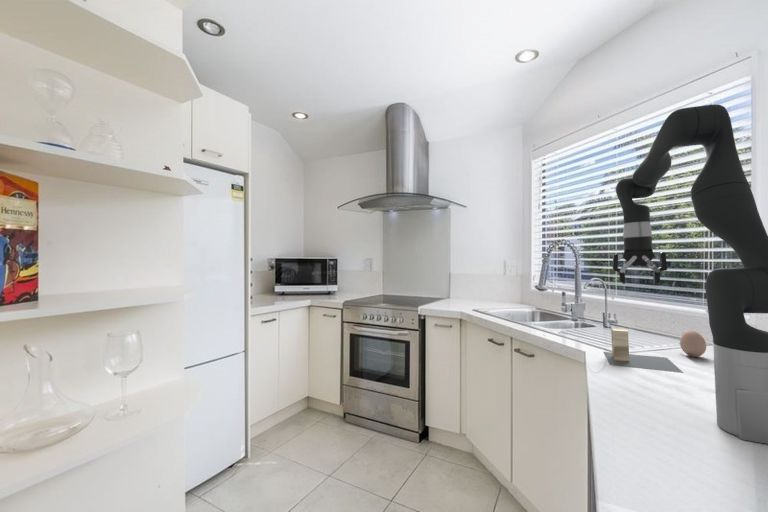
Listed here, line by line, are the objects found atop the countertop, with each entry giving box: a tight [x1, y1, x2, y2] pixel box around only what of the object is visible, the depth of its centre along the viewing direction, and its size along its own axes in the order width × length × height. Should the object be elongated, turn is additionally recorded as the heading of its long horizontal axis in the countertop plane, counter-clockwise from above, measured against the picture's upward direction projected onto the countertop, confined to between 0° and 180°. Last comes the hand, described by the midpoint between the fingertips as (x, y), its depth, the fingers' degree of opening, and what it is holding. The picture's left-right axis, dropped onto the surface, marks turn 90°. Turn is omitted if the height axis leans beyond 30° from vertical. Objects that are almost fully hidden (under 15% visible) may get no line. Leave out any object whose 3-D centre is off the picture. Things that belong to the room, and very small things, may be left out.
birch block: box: [610, 327, 630, 362], centre depth 107 cm, size 5×4×10 cm
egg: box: [679, 329, 707, 358], centre depth 110 cm, size 7×7×9 cm
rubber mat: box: [603, 351, 684, 374], centre depth 105 cm, size 16×18×1 cm
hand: (639, 283), depth 107 cm, fingers open, 8 cm apart
